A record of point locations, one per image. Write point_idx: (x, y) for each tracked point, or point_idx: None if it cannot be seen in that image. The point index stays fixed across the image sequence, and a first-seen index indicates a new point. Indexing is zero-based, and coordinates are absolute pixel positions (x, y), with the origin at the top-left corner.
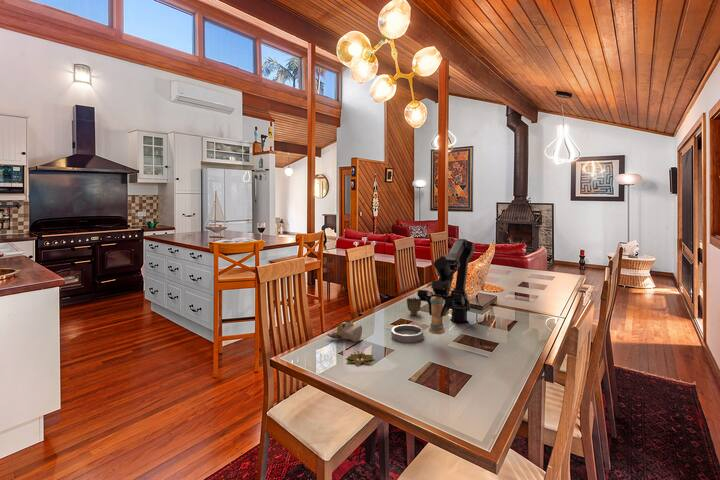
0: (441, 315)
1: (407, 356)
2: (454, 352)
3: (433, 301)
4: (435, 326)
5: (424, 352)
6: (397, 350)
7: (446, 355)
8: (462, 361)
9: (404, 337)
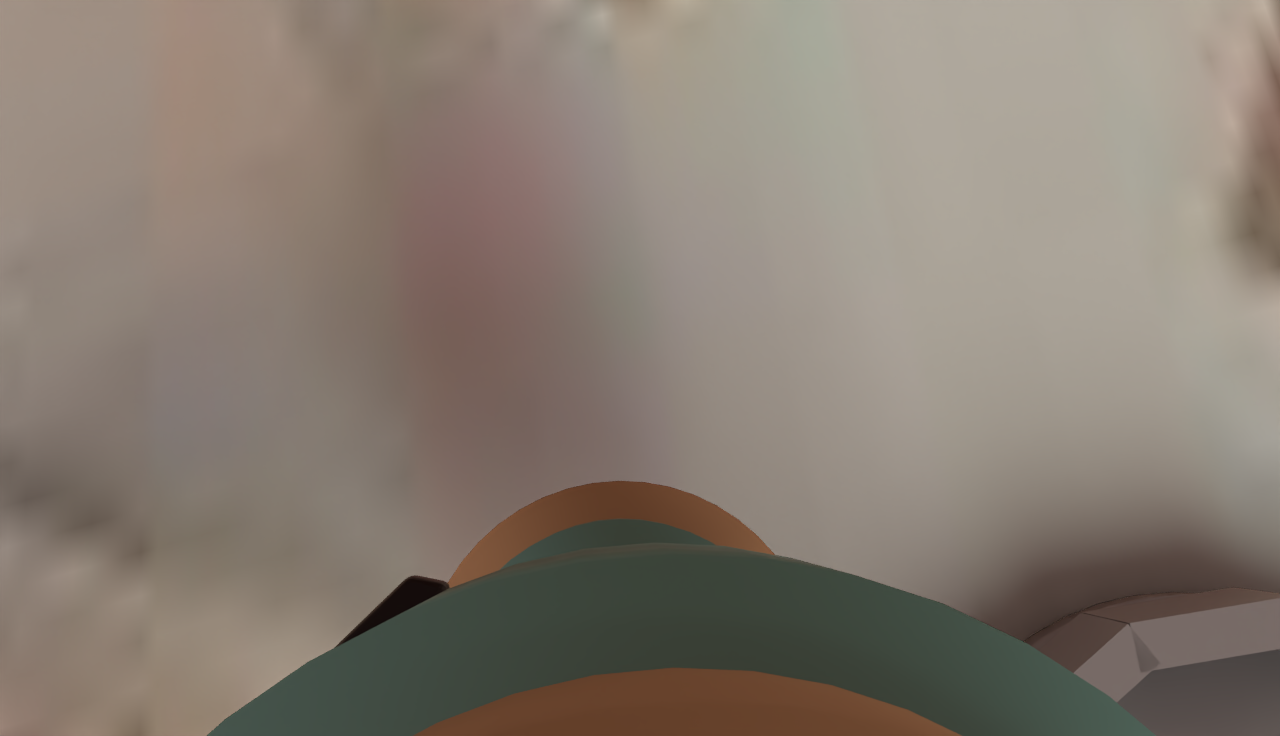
0: (420, 583)
1: (978, 76)
2: (301, 413)
3: (945, 607)
4: (638, 520)
5: (765, 283)
6: (1179, 245)
7: (419, 263)
8: (172, 117)
9: (1228, 601)
